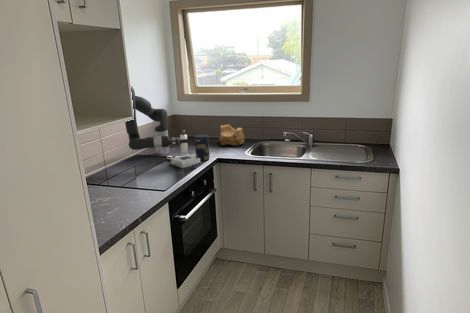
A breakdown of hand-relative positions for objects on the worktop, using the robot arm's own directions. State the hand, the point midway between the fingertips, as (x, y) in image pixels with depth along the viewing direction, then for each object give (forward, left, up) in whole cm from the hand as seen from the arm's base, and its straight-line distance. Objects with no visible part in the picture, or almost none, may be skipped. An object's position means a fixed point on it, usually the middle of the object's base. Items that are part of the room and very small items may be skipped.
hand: (187, 140), depth 217 cm
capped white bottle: (-1, -2, -8) cm, 9 cm away
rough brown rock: (-22, +53, -16) cm, 60 cm away
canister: (-1, +12, -16) cm, 20 cm away
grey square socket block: (-1, -2, -16) cm, 16 cm away
